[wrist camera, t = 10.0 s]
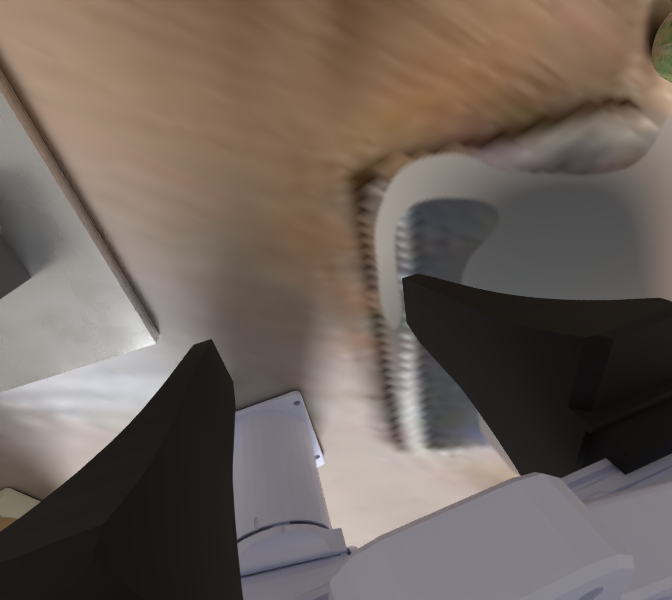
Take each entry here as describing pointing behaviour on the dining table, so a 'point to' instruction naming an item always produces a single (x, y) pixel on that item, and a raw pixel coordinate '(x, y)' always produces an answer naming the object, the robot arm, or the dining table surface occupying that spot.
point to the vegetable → (663, 49)
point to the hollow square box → (10, 271)
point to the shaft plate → (56, 266)
